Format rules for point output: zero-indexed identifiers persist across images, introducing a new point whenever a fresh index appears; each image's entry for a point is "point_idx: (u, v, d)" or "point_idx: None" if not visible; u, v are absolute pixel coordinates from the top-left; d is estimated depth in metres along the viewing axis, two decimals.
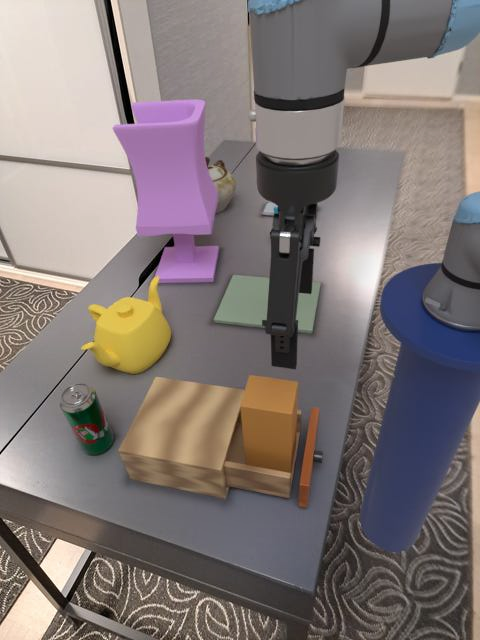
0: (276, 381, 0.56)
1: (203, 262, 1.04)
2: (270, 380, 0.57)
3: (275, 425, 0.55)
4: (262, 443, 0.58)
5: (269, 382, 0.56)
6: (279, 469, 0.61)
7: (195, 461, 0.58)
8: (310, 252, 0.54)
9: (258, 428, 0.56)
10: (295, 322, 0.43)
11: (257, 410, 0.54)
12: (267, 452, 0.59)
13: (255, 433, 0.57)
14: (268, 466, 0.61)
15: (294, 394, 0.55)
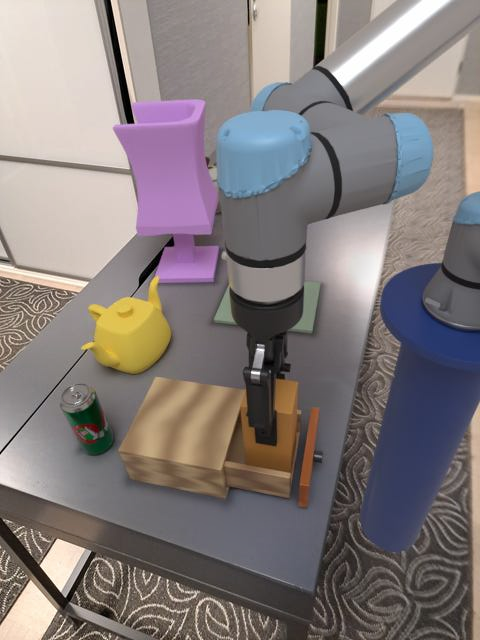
0: (276, 381, 0.56)
1: (203, 262, 1.04)
2: None
3: None
4: None
5: None
6: (279, 469, 0.61)
7: (195, 461, 0.58)
8: (281, 378, 0.57)
9: None
10: (273, 416, 0.51)
11: None
12: (267, 452, 0.59)
13: None
14: (268, 466, 0.61)
15: (294, 394, 0.55)
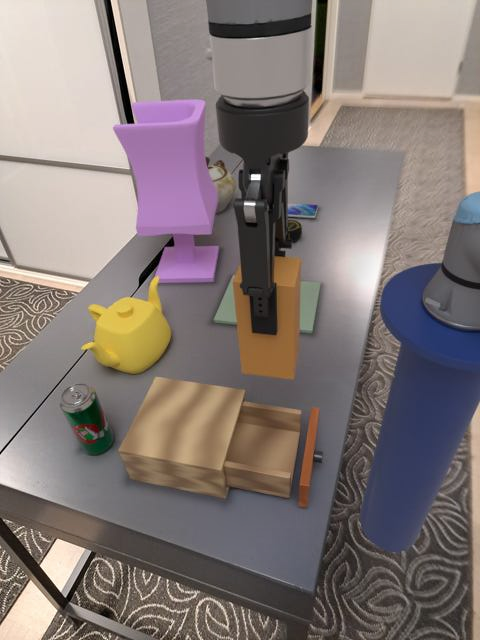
0: (275, 258, 0.48)
1: (203, 262, 1.04)
2: None
3: None
4: (259, 335, 0.49)
5: None
6: (280, 372, 0.53)
7: (195, 461, 0.58)
8: (281, 255, 0.48)
9: None
10: (273, 285, 0.42)
11: None
12: (266, 348, 0.50)
13: None
14: (266, 368, 0.53)
15: (297, 269, 0.46)
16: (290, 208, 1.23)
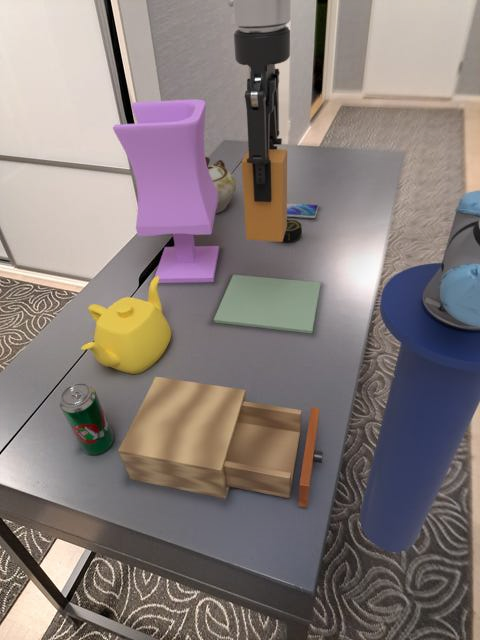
0: (270, 150, 0.71)
1: (203, 262, 1.04)
2: None
3: None
4: (259, 204, 0.73)
5: None
6: (273, 235, 0.76)
7: (195, 461, 0.58)
8: (274, 148, 0.71)
9: None
10: (268, 158, 0.66)
11: None
12: (263, 215, 0.74)
13: (253, 193, 0.71)
14: (264, 233, 0.76)
15: (284, 154, 0.69)
16: (290, 208, 1.23)
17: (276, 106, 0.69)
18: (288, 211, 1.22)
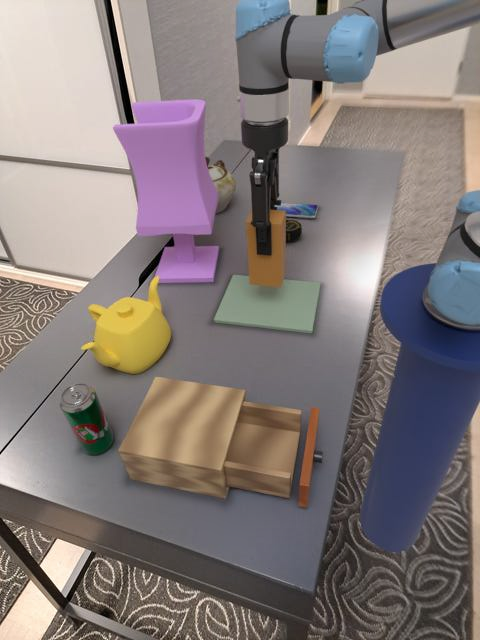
0: (270, 210, 0.82)
1: (203, 262, 1.04)
2: None
3: None
4: (260, 256, 0.84)
5: None
6: (273, 282, 0.87)
7: (195, 461, 0.58)
8: (274, 209, 0.82)
9: None
10: (269, 222, 0.77)
11: None
12: (264, 265, 0.85)
13: (256, 247, 0.83)
14: (265, 280, 0.87)
15: (283, 215, 0.80)
16: (290, 208, 1.23)
17: (276, 174, 0.80)
18: (288, 211, 1.22)
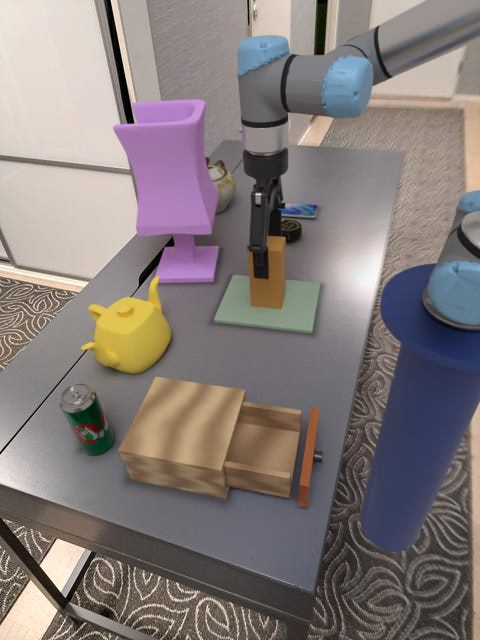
0: (271, 237, 0.86)
1: (203, 262, 1.04)
2: None
3: (270, 263, 0.84)
4: (261, 280, 0.87)
5: None
6: (273, 304, 0.90)
7: (195, 461, 0.58)
8: (278, 212, 0.87)
9: None
10: (266, 246, 0.75)
11: None
12: (265, 289, 0.88)
13: None
14: (265, 302, 0.91)
15: (282, 242, 0.84)
16: (290, 208, 1.23)
17: (279, 186, 0.84)
18: (288, 211, 1.22)
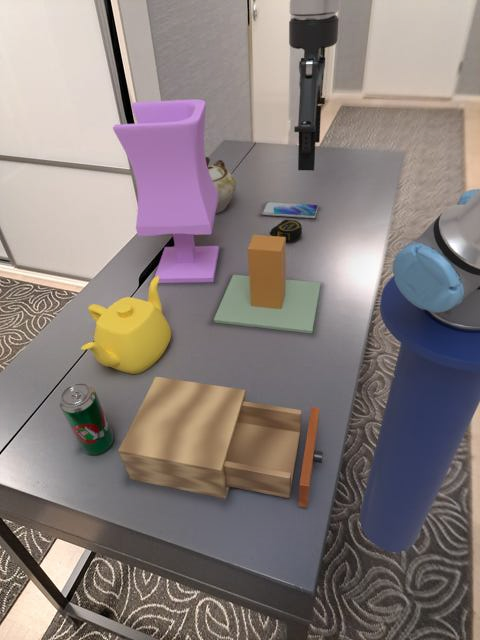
0: (271, 237, 0.86)
1: (203, 262, 1.04)
2: (267, 236, 0.86)
3: (270, 263, 0.84)
4: (261, 280, 0.87)
5: (266, 237, 0.86)
6: (273, 304, 0.90)
7: (195, 461, 0.58)
8: (318, 107, 0.81)
9: (259, 267, 0.85)
10: (315, 126, 0.70)
11: (259, 251, 0.83)
12: (265, 289, 0.88)
13: (257, 272, 0.86)
14: (265, 302, 0.91)
15: (282, 242, 0.84)
16: (290, 208, 1.23)
17: None
18: (288, 211, 1.22)
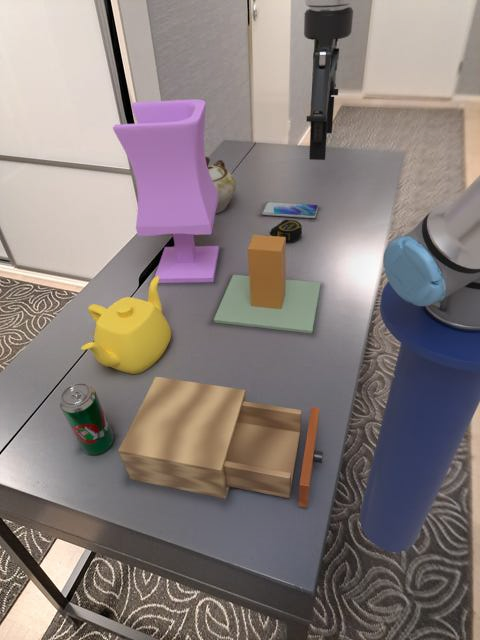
0: (271, 237, 0.86)
1: (203, 262, 1.04)
2: (267, 236, 0.86)
3: (270, 263, 0.84)
4: (261, 280, 0.87)
5: (266, 237, 0.86)
6: (273, 304, 0.90)
7: (195, 461, 0.58)
8: (332, 98, 0.83)
9: (259, 267, 0.85)
10: None
11: (259, 251, 0.83)
12: (265, 289, 0.88)
13: (257, 272, 0.86)
14: (265, 302, 0.91)
15: (282, 242, 0.84)
16: (290, 208, 1.23)
17: None
18: (288, 211, 1.22)
